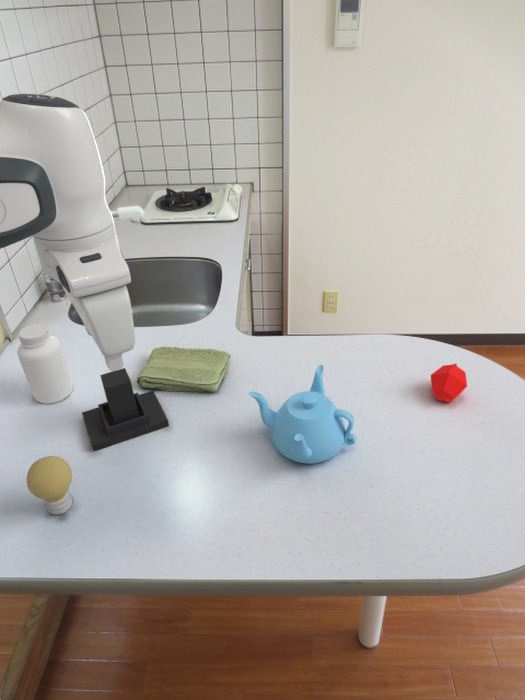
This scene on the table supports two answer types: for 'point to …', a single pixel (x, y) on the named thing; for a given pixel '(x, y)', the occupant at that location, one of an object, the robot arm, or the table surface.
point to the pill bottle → (44, 364)
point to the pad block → (119, 396)
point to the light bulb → (51, 483)
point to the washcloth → (184, 369)
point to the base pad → (109, 433)
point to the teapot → (307, 424)
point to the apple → (448, 382)
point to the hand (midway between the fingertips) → (104, 348)
